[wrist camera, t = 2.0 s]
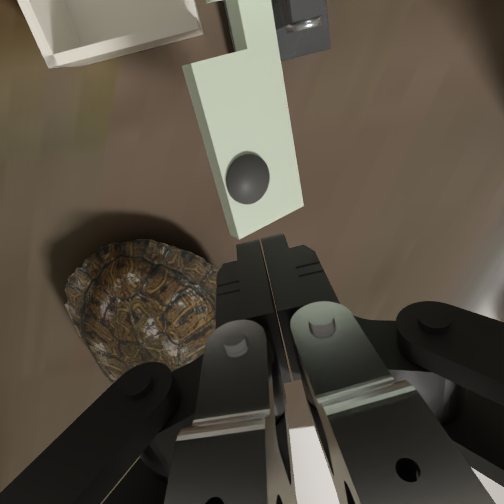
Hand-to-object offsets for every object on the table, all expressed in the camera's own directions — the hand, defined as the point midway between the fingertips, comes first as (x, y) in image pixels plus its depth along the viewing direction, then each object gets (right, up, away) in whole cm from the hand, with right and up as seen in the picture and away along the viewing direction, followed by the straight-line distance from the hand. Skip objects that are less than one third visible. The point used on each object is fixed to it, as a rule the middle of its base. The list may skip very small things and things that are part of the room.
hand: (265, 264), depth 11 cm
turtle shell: (-10, -6, +27) cm, 29 cm away
